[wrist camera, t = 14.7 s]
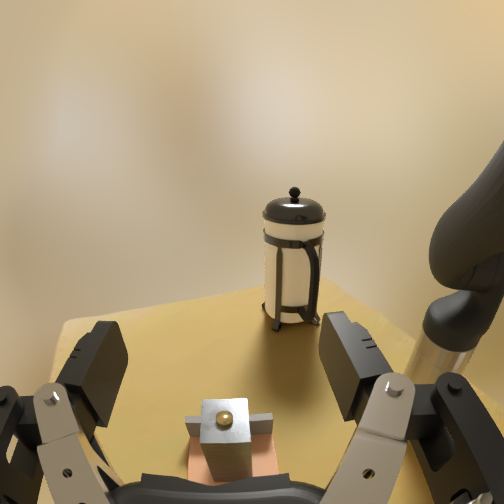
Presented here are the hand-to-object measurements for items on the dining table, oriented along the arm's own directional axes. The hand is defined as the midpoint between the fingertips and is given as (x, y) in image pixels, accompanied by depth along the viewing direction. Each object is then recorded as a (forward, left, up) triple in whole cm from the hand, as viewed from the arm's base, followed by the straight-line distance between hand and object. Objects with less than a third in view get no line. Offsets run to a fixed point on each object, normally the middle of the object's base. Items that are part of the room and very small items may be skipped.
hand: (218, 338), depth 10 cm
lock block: (+4, -8, -31) cm, 32 cm away
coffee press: (+2, -47, -32) cm, 57 cm away
